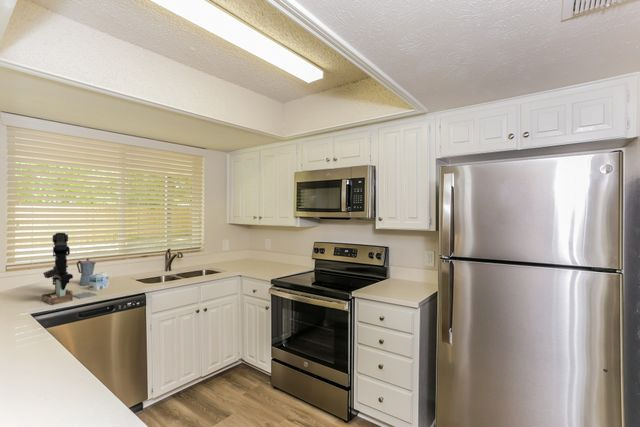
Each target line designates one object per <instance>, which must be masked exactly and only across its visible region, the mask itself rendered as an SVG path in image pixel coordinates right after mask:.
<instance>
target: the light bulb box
mask: <svg viewBox="0 0 640 427" xmlns="http://www.w3.org/2000/svg"><path fill="white" fill-rule="evenodd" d="M107 288H110V273H109V272H98V273H93V275H90V285H89V291H99V290H103V289H107Z"/></svg>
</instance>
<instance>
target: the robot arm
mask: <svg viewBox="0 0 640 427" xmlns="http://www.w3.org/2000/svg"><path fill="white" fill-rule="evenodd" d="M68 242H69V234H66V232H56V233H55V234H53V235H52V243H53V245H54V246H52V257H54V266H53V267H52V268H53V269H49V270H48V271H45V272H43V273H42V274H43V275H44V276H43V277H44V278H46V279H50V278H51V279H52V285H54V292H56V280H57V279H58V280H59V281H60V283H61V288H62V290H64V289H65V287H66V286H67V285H68V284H69V283H70V280H71V279H74V276H73V274H71V273H69V271H67V270H68V267H69V265H68V264H67V263H68V259H67V258H68V257H67V256H69V255H70V254H71V250H70V249H71V248H70V247H69V245H68ZM66 288H67V287H66Z"/></svg>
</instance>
